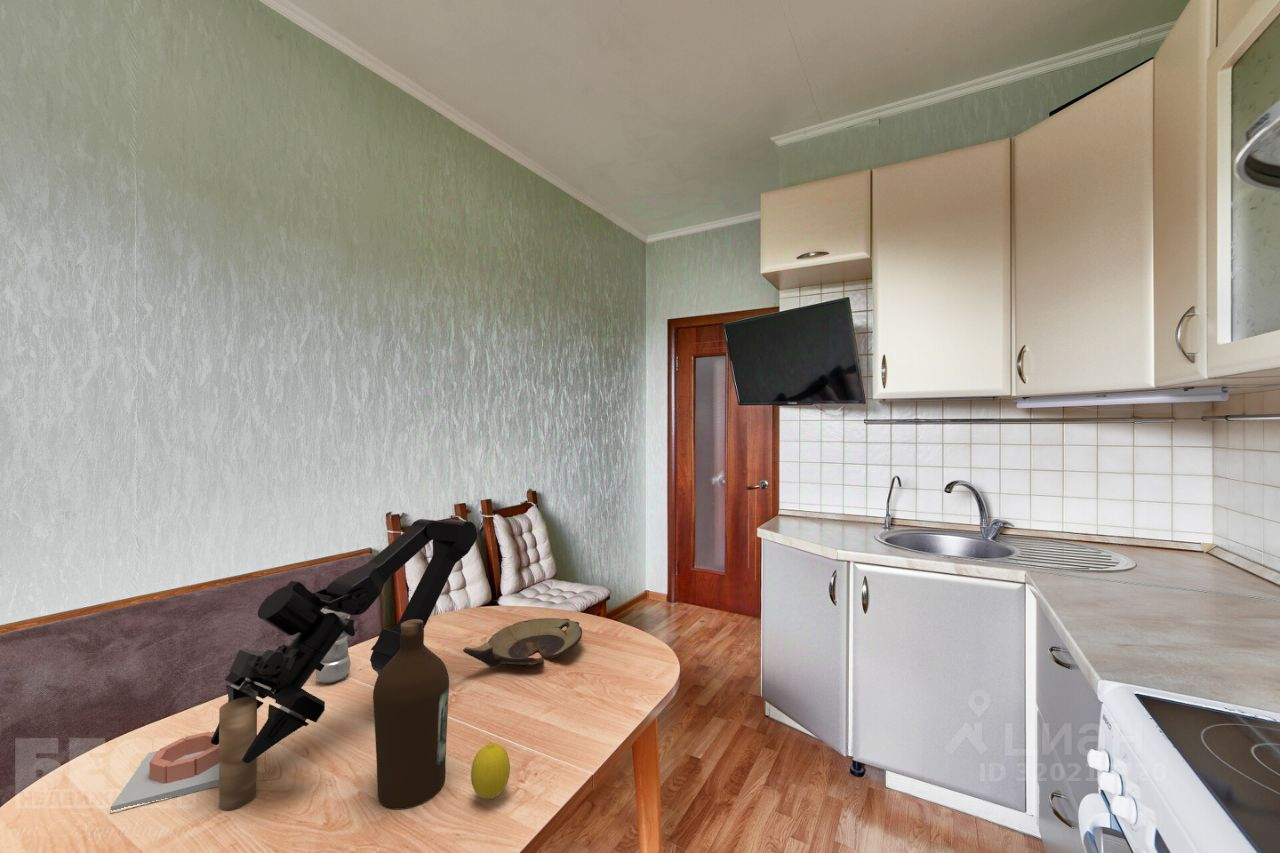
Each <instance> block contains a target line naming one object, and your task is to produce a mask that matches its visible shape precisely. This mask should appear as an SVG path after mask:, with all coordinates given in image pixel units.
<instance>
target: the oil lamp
mask: <svg viewBox="0 0 1280 853" xmlns="http://www.w3.org/2000/svg"><path fill="white" fill-rule="evenodd" d="M565 627H566V628H565ZM563 628H565V629H564V630H563ZM582 637H583V629H582V627H581V626H580V622H579V621H573V620H570V619H569V618H556V617H555V618H554V617H551V618H550V617H543V618H533V619H528V620H521V621H518V622H515V623H512V624H511V625H507V626H505V627H503V628H502V629H500V630H498V631H496V632H495V633H494V634H492V636H490V638H489V639H488V641H487V642H483V644H481V645H480V646H478V647H468V646H465V647H464V648H463V650H462V651H463V653H465V654H466V655H468V656H470V657H473V659H476V660H478V661H479V662H482V663H483V664H486V666H489V667H493V668H494V667H498V666H500V665H504V664H505V665H507V664H509V665H533V664H539V663H542V662H544V661H545V659H547V660H549V659H553V658H556V657H560V656H562V655H564V654H565V653H568V652H570V651H571V650H572V649H573V648H574V647H575V646H577V644H578V643H579V642H580V641H581V638H582ZM536 652H539V654H540V655H541V657H530V656H532V655H533V654H535V653H536Z"/></svg>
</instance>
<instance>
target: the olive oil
mask: <svg viewBox="0 0 1280 853" xmlns="http://www.w3.org/2000/svg"><path fill="white" fill-rule="evenodd" d="M424 632H425V628H424V629H423V621H422V620H419V619H412V620H408V621H405V622H403V623H401V632H400V649H399V651H398V652H397V653H396V654H395V655H394V656H393V658H392V659H391V660H390V661H389V662H388V663H387V664H386V665H385V667H384V668H383V669H382V670H381V672H380V673H379V675H377V678H376V681H375V682H374V686H373V691H372V704H373V719H374V721H373V722H374V736H375V737H374V740H375V756H376V781H377V782H376V783H377V785H376V788H377V790H376V791H377V799H378V802H379V803H380V804H381V806H383V807H386V808H388V809H392V810H393V809H394V810H402V809H409V808H413V807H416V806H419V805H422V804H423V803H426V802H427V801H429V800H430V799H433V797H435V796H436V795H437V794H438V793H439V792H440V791H441V790H442V789H443V786H444V784H445V782H446V769H447V768H446V767H447V766H446V765H447V764H446V757H447V738H448V737H447V736H448V734H447V733H448V719H449V718H448V715H449V700H450V699H449V696H450V695H449V694H450V676H449V672H448V669H447V666H446V664H445V662H444V661H443V660H442V658H440V657H439V656H438V655H437V654H436V653H434V652H433V651H432V650H431V649H430V648H428V647H427V646H426V645H425V643H424V642H425V641H424V640H425V633H424Z"/></svg>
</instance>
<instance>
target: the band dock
mask: <svg viewBox="0 0 1280 853" xmlns="http://www.w3.org/2000/svg"><path fill="white" fill-rule="evenodd" d="M214 733H215V731H214V730H212V731H206V732H201V733H197V734H192V735H187V736H185V737H181V738H180V739H177V740H175V741H173V742H171V743H169V744H167V745H165V746H163V747H161V748H160V749H159V750H156V751H151V752H148V753H147V754H146V756H145V757H144V758H143V760H142V762H141V763H140V765H139V766H138V767H137V768H136V770H135V772H134V773H133V774H132V776H131V777H130V778H129V780H128V782H127V783H126V785H125V786H124V787H123V789H122V790H121V792H120V793H119V794H118V796H117V798H116V799H115V800H114V802H113V803H112V804H111V806H110V811H111V810H112V811H113V810H117V809H121V808H124V807H128V806H133V805H137V804H142V803H148V802H152V801H156V800H161V799H165V798H170V797H174V798H176V797H175V796H178V797H180V796H179V795H182V796H185V795H184V794H186V795H188V793H189V794H192V793H196V792H197V793H198V792H200V791H201V792H202V791H204V790H209V789H212V788H213V789H214V788H216V787H219V744H218V745H214V744H212V743H211V739H212V737H213V735H214ZM170 799H171V798H170Z"/></svg>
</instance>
